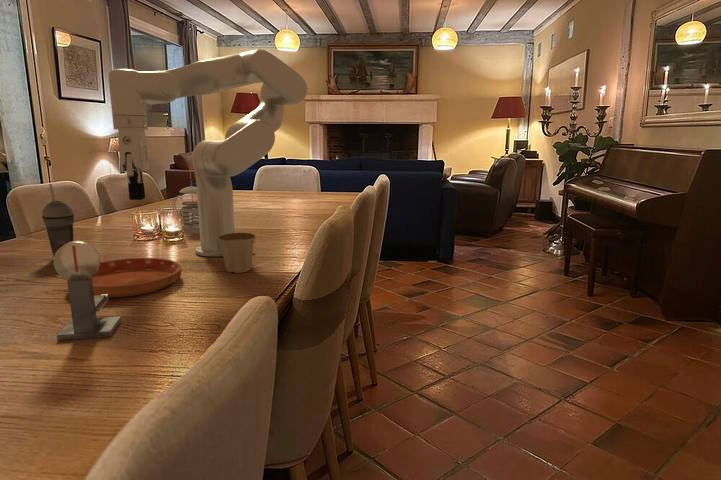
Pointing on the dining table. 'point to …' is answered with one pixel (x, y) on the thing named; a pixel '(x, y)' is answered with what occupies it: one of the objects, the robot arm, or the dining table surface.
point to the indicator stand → (82, 292)
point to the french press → (189, 209)
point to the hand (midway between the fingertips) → (137, 198)
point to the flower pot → (237, 251)
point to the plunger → (104, 302)
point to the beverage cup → (58, 223)
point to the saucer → (134, 276)
